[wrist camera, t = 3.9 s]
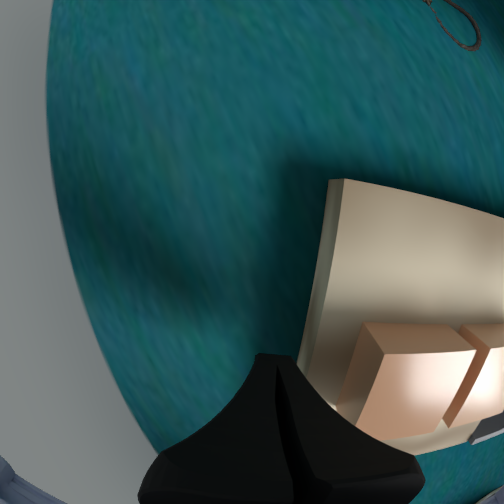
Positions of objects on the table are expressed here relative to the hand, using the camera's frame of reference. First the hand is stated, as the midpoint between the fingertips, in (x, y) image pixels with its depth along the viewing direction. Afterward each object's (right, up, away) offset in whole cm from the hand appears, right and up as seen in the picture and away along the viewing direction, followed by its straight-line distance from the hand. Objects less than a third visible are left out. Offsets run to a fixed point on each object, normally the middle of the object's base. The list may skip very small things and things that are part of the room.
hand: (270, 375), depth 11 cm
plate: (+9, 0, +3) cm, 9 cm away
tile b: (+11, -1, +1) cm, 11 cm away
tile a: (+6, 0, +1) cm, 6 cm away
